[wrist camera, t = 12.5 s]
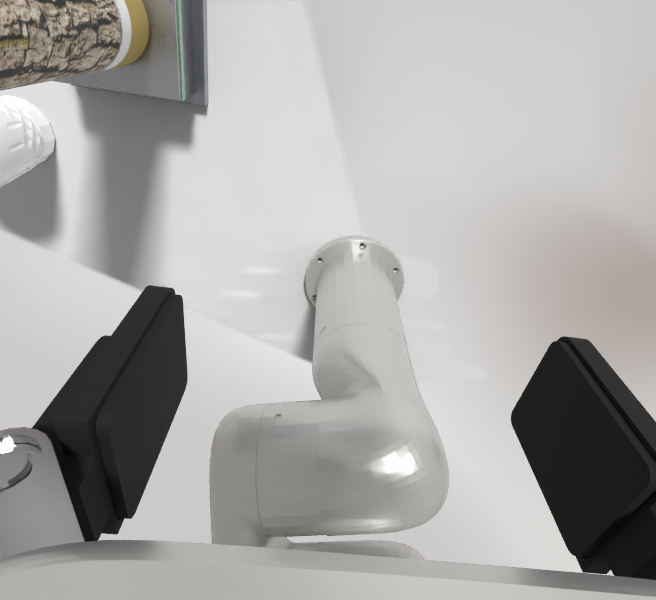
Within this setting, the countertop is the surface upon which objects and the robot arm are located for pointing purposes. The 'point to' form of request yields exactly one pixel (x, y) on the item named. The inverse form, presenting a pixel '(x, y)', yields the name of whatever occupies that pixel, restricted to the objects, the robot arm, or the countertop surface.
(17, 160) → the white cup
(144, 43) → the paper tube
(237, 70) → the countertop surface
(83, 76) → the stand
